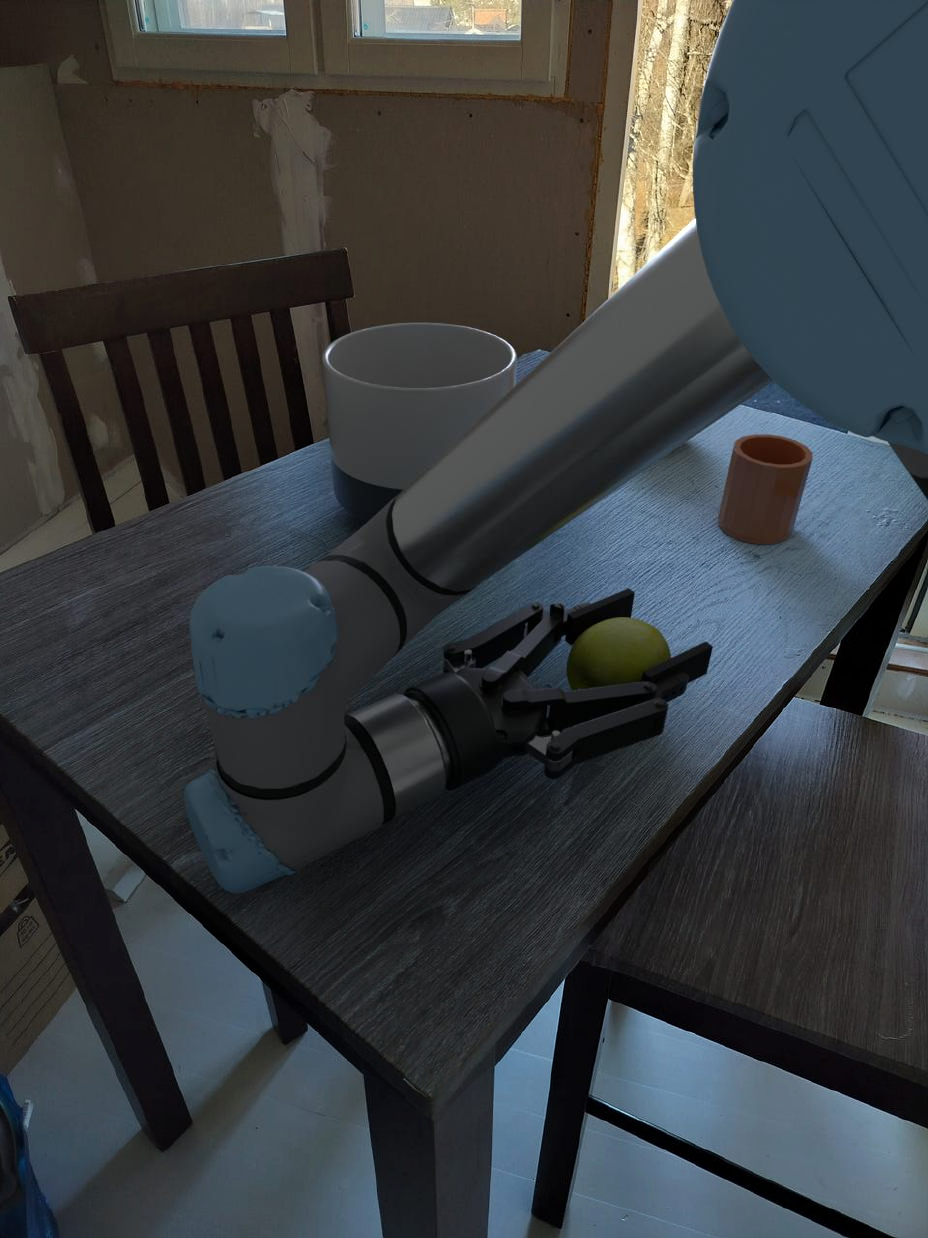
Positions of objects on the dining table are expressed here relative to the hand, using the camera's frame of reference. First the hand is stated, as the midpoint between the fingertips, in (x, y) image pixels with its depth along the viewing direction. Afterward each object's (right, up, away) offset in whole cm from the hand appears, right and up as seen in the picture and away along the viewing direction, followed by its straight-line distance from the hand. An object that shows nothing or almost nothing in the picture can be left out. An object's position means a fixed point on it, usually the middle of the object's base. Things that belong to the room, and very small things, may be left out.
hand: (666, 629), depth 68 cm
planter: (-21, +13, +27) cm, 37 cm away
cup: (+16, +11, +25) cm, 32 cm away
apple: (-4, -7, +2) cm, 8 cm away
